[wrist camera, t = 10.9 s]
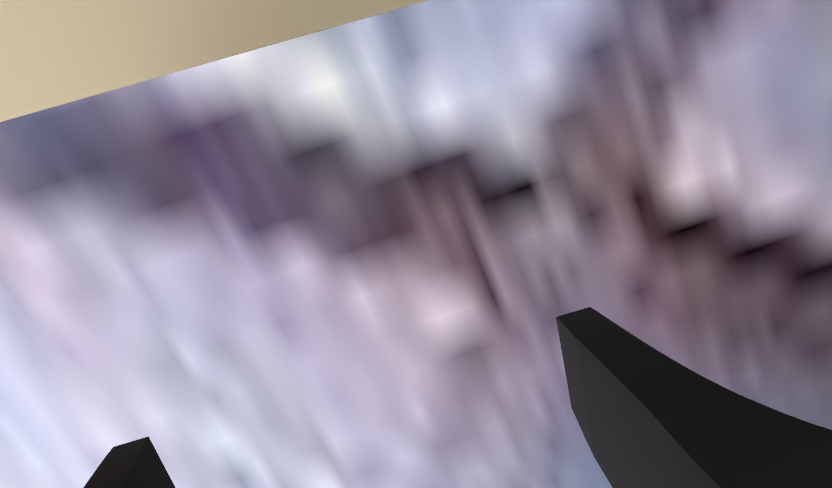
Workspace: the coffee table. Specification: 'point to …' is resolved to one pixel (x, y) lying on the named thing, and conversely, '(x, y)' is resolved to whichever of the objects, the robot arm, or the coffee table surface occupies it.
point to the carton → (142, 40)
